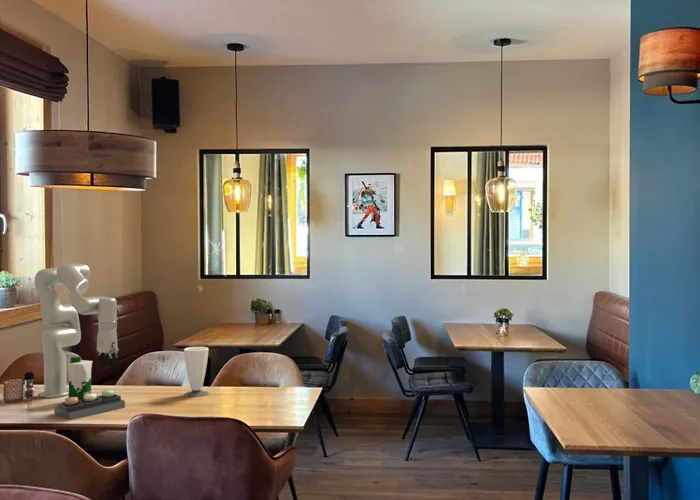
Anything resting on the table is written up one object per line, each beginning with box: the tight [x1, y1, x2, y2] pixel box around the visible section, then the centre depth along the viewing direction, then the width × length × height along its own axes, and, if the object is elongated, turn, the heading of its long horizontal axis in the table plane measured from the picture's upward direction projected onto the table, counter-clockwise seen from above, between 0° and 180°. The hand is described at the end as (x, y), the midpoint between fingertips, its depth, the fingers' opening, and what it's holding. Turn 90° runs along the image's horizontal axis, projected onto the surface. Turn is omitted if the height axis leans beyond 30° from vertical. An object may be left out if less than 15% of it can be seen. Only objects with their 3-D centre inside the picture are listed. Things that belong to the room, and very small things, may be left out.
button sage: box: [101, 389, 115, 397], centre depth 259 cm, size 5×5×2 cm
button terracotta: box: [64, 396, 78, 405], centre depth 247 cm, size 5×5×2 cm
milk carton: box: [66, 356, 93, 400], centre depth 267 cm, size 9×9×20 cm
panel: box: [53, 393, 126, 421], centre depth 253 cm, size 14×24×5 cm, turn 139°
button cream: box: [84, 392, 98, 401], centre depth 253 cm, size 5×5×2 cm
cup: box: [183, 346, 210, 398], centre depth 280 cm, size 12×12×22 cm
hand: (107, 365), depth 259 cm, fingers open, 8 cm apart
